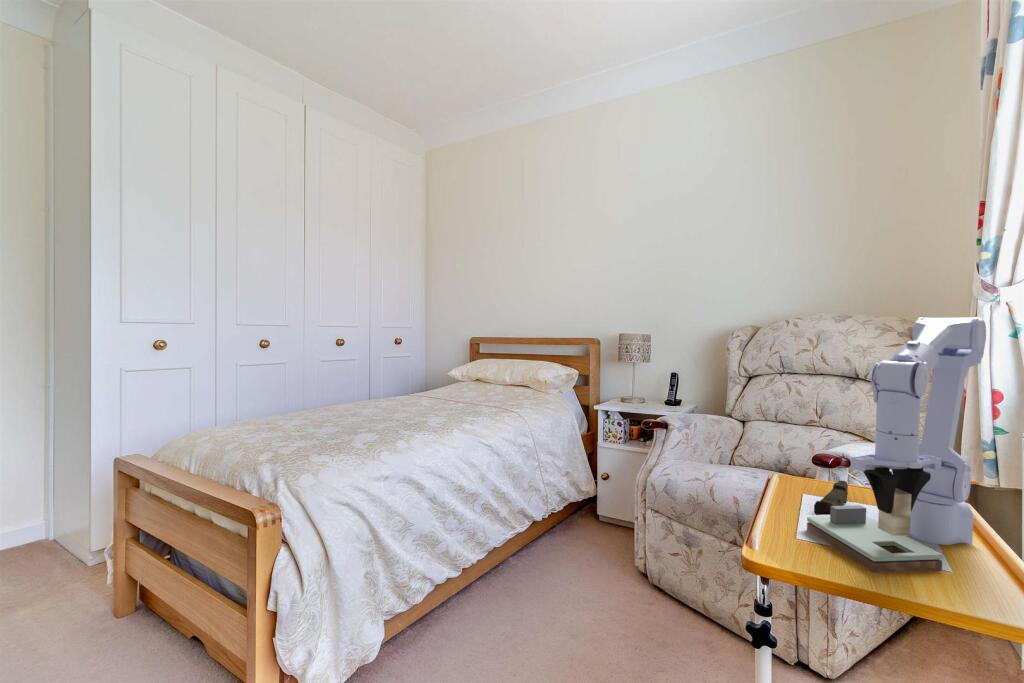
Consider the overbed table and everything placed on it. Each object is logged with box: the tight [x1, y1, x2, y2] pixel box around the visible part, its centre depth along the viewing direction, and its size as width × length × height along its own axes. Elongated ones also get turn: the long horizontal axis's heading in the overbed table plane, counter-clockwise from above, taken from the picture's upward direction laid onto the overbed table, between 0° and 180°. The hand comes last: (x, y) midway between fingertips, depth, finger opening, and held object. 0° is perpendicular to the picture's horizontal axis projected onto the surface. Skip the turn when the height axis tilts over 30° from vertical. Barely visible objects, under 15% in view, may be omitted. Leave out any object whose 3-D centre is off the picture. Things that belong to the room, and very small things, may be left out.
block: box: [877, 488, 911, 536], centre depth 81 cm, size 3×3×7 cm
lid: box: [806, 504, 943, 561], centre depth 87 cm, size 12×16×4 cm
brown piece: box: [806, 521, 943, 573], centre depth 87 cm, size 12×16×3 cm
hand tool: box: [813, 480, 849, 516], centre depth 110 cm, size 19×4×5 cm, turn 131°
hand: (894, 510), depth 81 cm, fingers closed on block, 3 cm apart
